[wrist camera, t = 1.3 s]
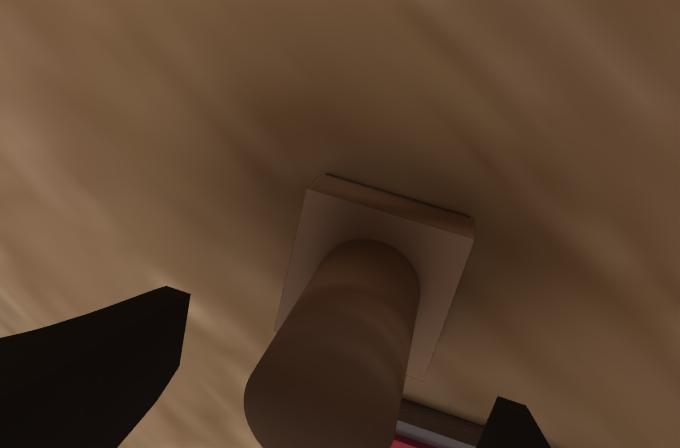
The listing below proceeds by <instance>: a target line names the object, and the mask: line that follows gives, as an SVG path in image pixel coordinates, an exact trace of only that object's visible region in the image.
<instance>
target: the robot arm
mask: <svg viewBox="0 0 680 448" xmlns="http://www.w3.org/2000/svg"><path fill="white" fill-rule="evenodd" d="M190 295H191V294H189V293H186V292H183V291H180V290H177V289H174V288H171V287H168V286H165V287H161V288H158V289H155V290H152V291H149V292H147V293H144V294H141V295H138V296H136V297H133V298H130V299H128V300H125V301H122V302H119V303H117V304H114V305H111V306H108V307H106V308H103V309H100V310H97V311H94V312H92V313H89V314H85V315H82V316H79V317H76V318H73V319H69V320H66V321H63V322H60V323H57V324H53V325H50V326H47V327H43V328H40V329H36V330H32V331H28V332H24V333H20V334H16V335H11V336H7V337H2V338H0V448H117V447H118V446H119V445H120V444H121V442H122V441H123V440H124V439H125V438H126V437H127V436H128V434H129V433H130V432H131V431H132V430H133V429H134V427H135V426H136V425H137V424H138V423H139V421H140V420H141V419H142V418H143V417H144V416H145V414H146V413H147V412H148V411H149V410H150V408H151V407H152V406H153V405H154V404H155V402H156V401H157V400H158V398H159V397H160V395H161V394H162V392H163V391H164V389H165V388H166V386H167V385H168V383H169V382H170V380H171V378H172V377H173V375H174V374H175V372H176V370H177V369H178V367H179V365H180V359H181V352H182V346H183V339H184V333H185V327H186V320H187V314H188V308H189V301H190ZM476 448H551V447H550V446H549V444H548V442H547V440H546V439H545V437H544V435H543V434H542V432H541V430H540V428H539V427H538V425H537V423H536V422H535V420H534V418H533V416H532V415H531V413H530V411H529V410H528V408H527V407H526V405H523V404H520V403H517V402H514V401H511V400H508V399H505V398H502V397H499V396H498V397H497V399H496V402H495V404H494V406H493V409H492V411H491V413H490V416H489V418H488V420H487V423H486V425H485V427H484V430H483V432H482V434H481V437H480V439H479V441H478V443H477V446H476Z"/></svg>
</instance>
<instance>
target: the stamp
mask: <svg viewBox="0 0 680 448" xmlns="http://www.w3.org/2000/svg"><path fill="white" fill-rule="evenodd" d="M474 240H475V237H474V219H470V217H469V216H466V215H462V214H459V213H456V212H452V211H449V210H446V209H442V208H439V207H436V206H432V205H429V204H426V203H422V202H419V201H415V200H412V199H409V198H405V197H402V196H399V195H395V194H392V193H389V192H385V191H382V190H379V189H375V188H372V187H369V186H365V185H362V184H359V183H355V182H352V181H349V180H345V179H342V178H339V177H335V176H332V175H329V174H326V175H324V174H320V175H319V176H318V177H317V178H316V179H315V180H314V181H313V182H312V183H311V184H310V185H309V186H308V187H307V189H306V193H305V197H304V201H303V206H302V210H301V214H300V219H299V223H298V227H297V232H296V236H295V241H294V245H293V249H292V254H291V258H290V262H289V267H288V271H287V275H286V280H285V284H284V289H283V293H282V297H281V302H280V306H279V310H278V315H277V319H276V323H275V328H274V331H275V332H277V334H276V335H275V337H274V339H273V340H272V342H271V343H270V345H269V347H268V348H267V350H266V351H265V353H264V355H263V356H262V358H261V360H260V361H259V363H258V364H257V366H256V368H255V369H254V371H253V372H252V374H251V376H250V378H249V380H248V382H247V385H246V388H245V393H244V410H245V416H246V419H247V422H248V425H249V427H250V429H251V431H252V433H253V435H254V436H255V438H256V439H257V441H258V442H259V443H260V445H261V446H262V447H263V448H390V447H391V445H392V443H393V440H394V436H395V431H396V426H397V420H398V415H399V410H400V404H401V399H402V393H403V388H404V382H405V377H406V376H409V377H411V378H414V379H417V380H420V381H424V378H425V375H426V372H427V369H428V367H429V364H430V361H431V358H432V356H433V353H434V350H435V347H436V345H437V342H438V339H439V336H440V334H441V331H442V328H443V325H444V323H445V320H446V317H447V314H448V312H449V309H450V306H451V303H452V301H453V298H454V295H455V292H456V290H457V287H458V284H459V281H460V278H461V276H462V273H463V270H464V267H465V265H466V262H467V259H468V256H469V254H470V251H471V248H472V245H473V243H474Z"/></svg>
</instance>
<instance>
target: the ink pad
mask: <svg viewBox="0 0 680 448" xmlns="http://www.w3.org/2000/svg"><path fill="white" fill-rule="evenodd" d="M483 430H484V427H482V426H479V425H477V424H474V423H471V422H468V421H465V420H462V419H459V418H456V417H453V416H450V415H447V414H444V413H441V412H439V411H436V410H433V409H430V408H427V407H424V406H421V405H418V404H415V403H412V402H409V401H406V400H403V399H401V404H400V410H399V415H398V420H397V426H396V431H395V436H394V440H393V443H392V445H391V447H390V448H476V446H477V443H478V441H479V439H480V437H481V434H482V432H483Z"/></svg>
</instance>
